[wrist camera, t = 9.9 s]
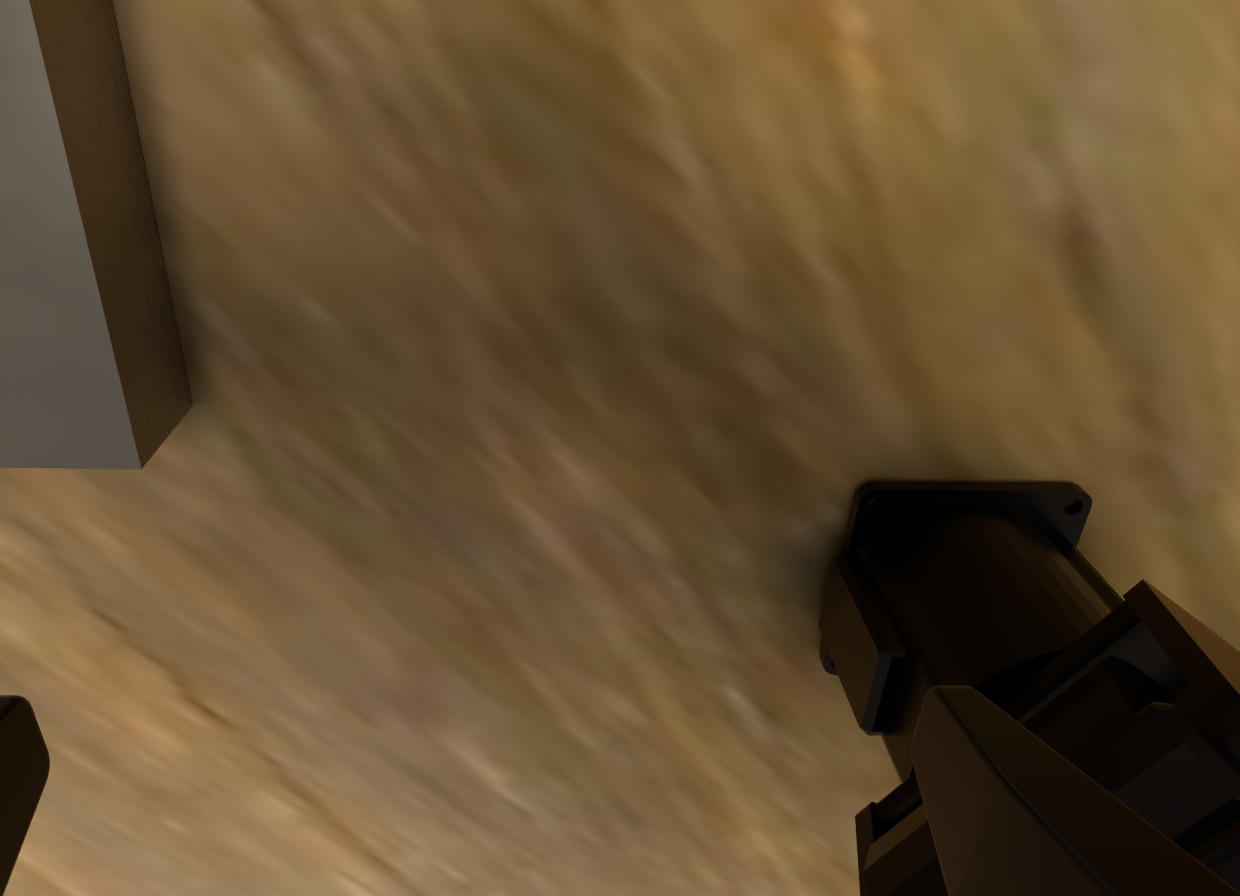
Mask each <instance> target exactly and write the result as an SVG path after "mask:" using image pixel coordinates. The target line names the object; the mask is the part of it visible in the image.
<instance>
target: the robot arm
mask: <svg viewBox="0 0 1240 896" xmlns="http://www.w3.org/2000/svg"><path fill="white" fill-rule="evenodd" d="M877 497H880V498H881V499H880V501H879V502H878V503H876V504H875V505H868V503H869V501H870V500H872V499H873V498H877ZM1071 500H1074V502H1073V503H1072V504H1071V505H1069V506H1067V507H1065V506H1066V504H1067V503H1068V502H1070V501H1071ZM1091 505H1092V500H1091V497H1090V496H1089V495H1088V494H1087V493H1086V492H1085V491H1084V490H1083V489H1082V488H1081V487H1080V486H1078V485H1075V484H1043V483H963V482H883V481H875V482H869V483H866V484H865V485H863V486H861V487H860V488H859V489H858V490H857V491H856V493H855V496H854V499H853V503H852V508H851V512H850V517H849V521H848V526H847V530H846V535H845V540H844V544H843V549H842V551H841V552H839V553H838V554H837V555H836V556H835V557H834V558H833V560H832V564H831V569H830V574H829V578H828V583H827V588H826V592H825V597H824V601H823V606H822V611H821V615H820V620H819V629H820V632H821V634H822V637H823V639H822V644H821V648H820V653H819V655H820V660H821V663H822V665H823V668H824V669H825V671H826V672H828V673H829V674H833V675H838V676H839V678H840V681H841V683H842V686H843V688H844V691H845V693H846V696H847V698H848V700H849V703H850V705H851V708H852V710H853V713H854V715H855V718H856V720H857V722H858V725H859V727H860V728H861V729H862V730H863V731H864V732H865V733H866V734H867V735H881V736H882V739H883V741H884V743H885V746H886V748H887V750H888V753H889V755H890V757H891V760H892V762H893V764H894V767H895V769H896V771H897V773H898V776H899V778H900V780H901V784H900V785H899V786H898V787H896V788H895V789H894V790H893V791H892V792H890V793H889V794H888V795H887V796H885V797H884V798H883V799H882V800H881V801H879V802H878V803H875V802H871V803H870V804H869V805H867V806H866V807H865V808H864V809H863V810H861V811H860V812H859V813H858V814H857V815H856V816H855V822H856V837H857V852H858V867H859V883H860V896H1240V652H1239V651H1238V650H1236V649H1235V648H1234V647H1232V646H1231V645H1230V644H1228V643H1227V642H1226V641H1225V640H1223V639H1222V638H1221V637H1219V636H1218V635H1217V634H1215V633H1214V632H1213V631H1211V630H1210V629H1209V628H1207V627H1206V626H1205V625H1203V624H1202V623H1201V622H1199V621H1198V620H1197V619H1195V618H1194V617H1193V616H1192V615H1190V614H1189V613H1188V612H1186V611H1185V610H1184V609H1182V608H1181V607H1180V606H1178V605H1177V604H1176V603H1174V602H1173V601H1172V600H1170V599H1169V598H1168V597H1166V596H1165V595H1164V594H1163V593H1161V592H1160V591H1159V590H1157V589H1156V588H1155V587H1153V586H1152V585H1151V584H1149V583H1148V582H1147V581H1145V580H1144V579H1143V580H1141V581H1140V582H1139V583H1138V584H1137V585H1135V586H1134V587H1133V588H1132V589H1130V590H1129V591H1128V592H1127V593H1126V594H1124V595H1123V597H1124V598H1125V601H1123V600H1122V598H1121V597H1120V596H1119V595H1118V594H1117V593H1116V592H1115V591H1114V590H1113V588H1112V587H1111V586H1110V585H1109V584H1108V583H1107V582H1106V581H1105V580H1104V579H1103V577H1102V576H1101V575H1100V574H1099V573H1098V572H1097V571H1096V570H1095V569H1094V568H1093V566H1092V565H1091V564H1090V563H1089V562H1088V561H1087V560H1086V559H1085V558H1084V556H1083V555H1082V554H1081V553H1080V552H1079V551H1078V550H1077V549H1076V546H1077V544H1078V541H1079V538H1080V536H1081V533H1082V530H1083V528H1084V525H1085V522H1086V520H1087V517H1088V514H1089V512H1090V509H1091ZM49 767H50V759H49V753H48V750H47V747H46V744H45V742H44V739H43V736H42V733H41V731H40V728H39V725H38V722H37V720H36V717H35V714H34V712H33V709H32V706H31V704H30V702H29V701H28V700H26V699H25V698H24V697H21V696H18V695H1V696H0V896H3V894H4V892H5V889H6V887H7V884H8V881H9V879H10V876H11V873H12V871H13V868H14V866H15V863H16V860H17V858H18V855H19V852H20V850H21V847H22V845H23V842H24V839H25V837H26V834H27V831H28V829H29V826H30V824H31V821H32V818H33V816H34V813H35V810H36V808H37V805H38V803H39V800H40V797H41V795H42V792H43V789H44V787H45V784H46V781H47V778H48V774H49Z"/></svg>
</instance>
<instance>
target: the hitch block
mask: <svg viewBox="0 0 1240 896" xmlns="http://www.w3.org/2000/svg"><path fill="white" fill-rule="evenodd" d="M191 407H192V402H191V397H190V392H189V387H188V382H187V377H186V372H185V367H184V362H183V357H182V352H181V347H180V342H179V337H178V332H177V327H176V322H175V317H174V312H173V307H172V302H171V297H170V292H169V287H168V282H167V276H166V271H165V266H164V261H163V256H162V251H161V246H160V241H159V236H158V231H157V226H156V221H155V216H154V211H153V206H152V201H151V196H150V191H149V186H148V181H147V176H146V171H145V166H144V161H143V156H142V151H141V146H140V141H139V136H138V131H137V126H136V121H135V116H134V111H133V106H132V101H131V96H130V91H129V86H128V81H127V76H126V71H125V66H124V61H123V56H122V50H121V45H120V40H119V35H118V30H117V25H116V20H115V15H114V10H113V5H112V0H0V467H15V468H93V469H142V468H143V467H144V465H145V464H146V463H147V462H148V460H149V459H150V458H151V457H152V455H153V454H154V453H155V452H156V450H157V449H158V448H159V447H160V446H161V444H162V443H163V442H164V441H165V439H166V438H167V437H168V436H169V434H170V433H171V432H172V431H173V429H174V428H175V427H176V426H177V424H178V423H179V422H180V421H181V419H182V418H183V417H184V416H185V415H186V413H187V412H188V411H189V410H190V408H191Z"/></svg>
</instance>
